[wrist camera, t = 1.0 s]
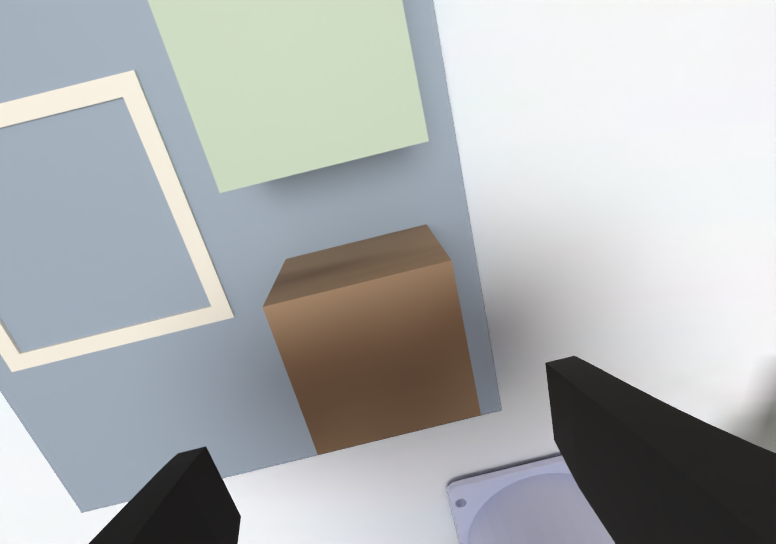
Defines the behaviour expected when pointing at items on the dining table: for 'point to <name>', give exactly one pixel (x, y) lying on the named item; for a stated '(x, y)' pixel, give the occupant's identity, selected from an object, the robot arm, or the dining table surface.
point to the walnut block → (373, 339)
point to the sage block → (292, 82)
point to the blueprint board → (176, 251)
